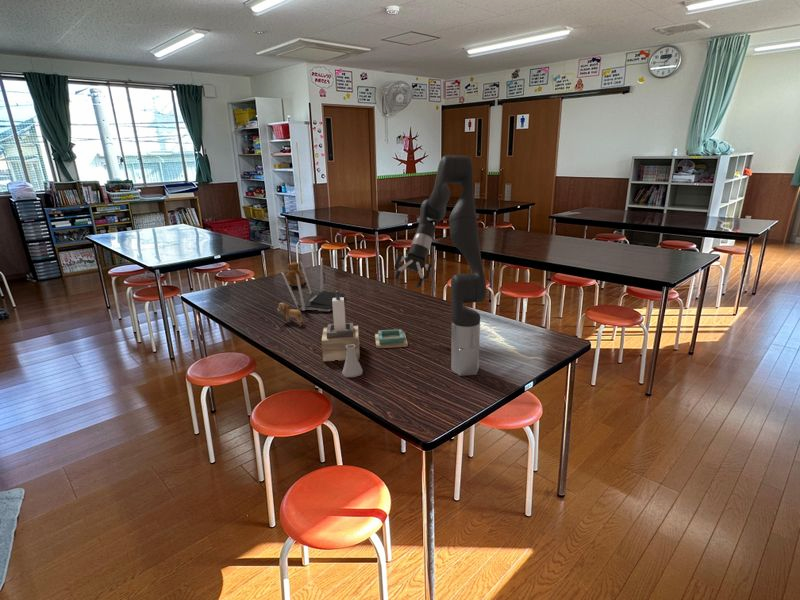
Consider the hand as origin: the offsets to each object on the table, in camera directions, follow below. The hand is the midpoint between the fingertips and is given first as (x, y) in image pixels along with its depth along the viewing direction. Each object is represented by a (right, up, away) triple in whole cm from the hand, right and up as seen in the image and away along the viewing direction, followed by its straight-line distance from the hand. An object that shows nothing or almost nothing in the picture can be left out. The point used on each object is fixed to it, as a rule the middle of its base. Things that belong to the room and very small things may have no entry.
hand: (407, 284), depth 178 cm
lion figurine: (-51, -17, +21) cm, 57 cm away
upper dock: (-25, -26, -10) cm, 37 cm away
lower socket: (-6, -22, -1) cm, 23 cm away
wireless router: (-44, -9, +46) cm, 64 cm away
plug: (-25, -18, -13) cm, 33 cm away
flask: (-19, -31, -26) cm, 45 cm away
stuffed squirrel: (-63, +2, +80) cm, 101 cm away
